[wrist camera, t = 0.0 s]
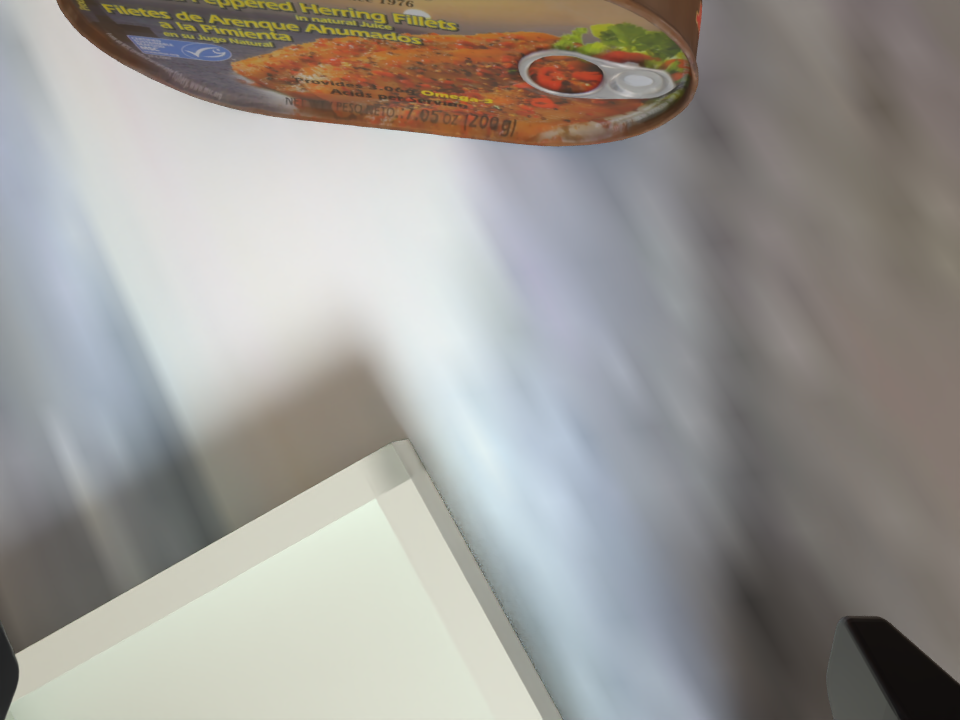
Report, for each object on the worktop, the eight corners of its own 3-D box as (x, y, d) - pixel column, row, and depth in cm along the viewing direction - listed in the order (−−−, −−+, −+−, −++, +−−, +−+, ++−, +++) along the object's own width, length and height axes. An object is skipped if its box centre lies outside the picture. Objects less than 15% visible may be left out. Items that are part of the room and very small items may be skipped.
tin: (149, 103, 26) (-39, -48, 17) (165, -1, 26) (-12, -201, 17) (665, 163, 25) (733, 33, 16) (679, 54, 25) (753, -131, 16)
